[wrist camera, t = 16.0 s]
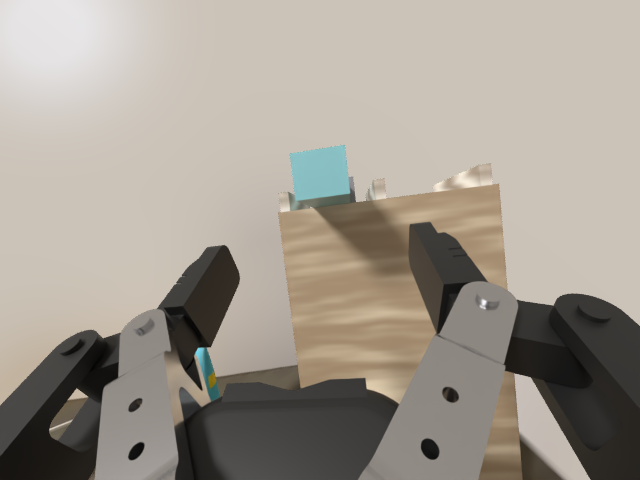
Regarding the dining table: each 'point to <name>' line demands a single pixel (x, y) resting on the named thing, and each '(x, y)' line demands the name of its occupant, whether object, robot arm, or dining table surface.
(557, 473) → the dining table surface
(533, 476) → the dining table surface
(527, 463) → the dining table surface
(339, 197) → the bar
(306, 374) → the notched wooden tower
